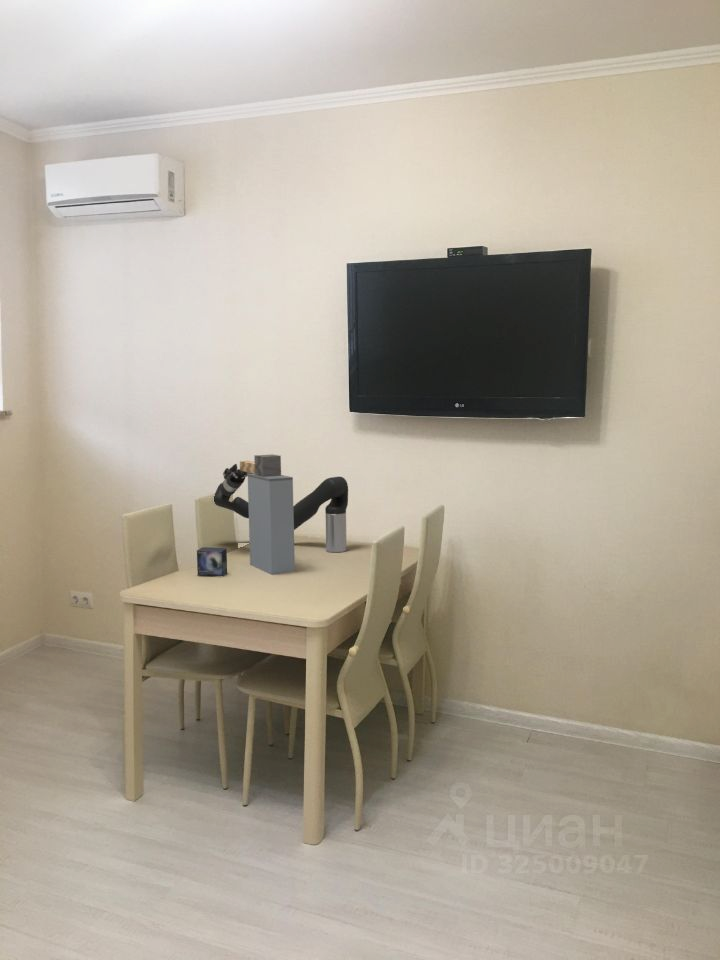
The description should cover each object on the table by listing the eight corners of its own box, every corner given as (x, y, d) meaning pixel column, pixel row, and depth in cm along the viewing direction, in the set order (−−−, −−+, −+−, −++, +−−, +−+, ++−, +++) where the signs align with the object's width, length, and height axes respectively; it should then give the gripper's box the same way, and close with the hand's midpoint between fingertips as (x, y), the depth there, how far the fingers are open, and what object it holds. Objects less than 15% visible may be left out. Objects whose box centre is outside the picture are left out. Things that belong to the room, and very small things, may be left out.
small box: (196, 576, 320) (195, 550, 319) (202, 572, 327) (201, 546, 325) (222, 577, 318) (221, 550, 317) (228, 573, 325) (227, 547, 323)
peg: (235, 470, 349) (234, 452, 349) (252, 469, 354) (252, 451, 353) (262, 476, 325) (262, 456, 324) (281, 475, 329) (280, 455, 328)
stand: (250, 564, 340) (247, 474, 335) (272, 561, 345) (269, 472, 340) (271, 574, 321) (269, 479, 317) (294, 571, 326) (292, 477, 322)
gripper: (250, 487, 364) (262, 472, 351) (220, 489, 357) (231, 474, 344) (246, 472, 366) (259, 456, 353) (216, 474, 359) (228, 458, 346)
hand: (245, 465), depth 349 cm, fingers open, 8 cm apart
